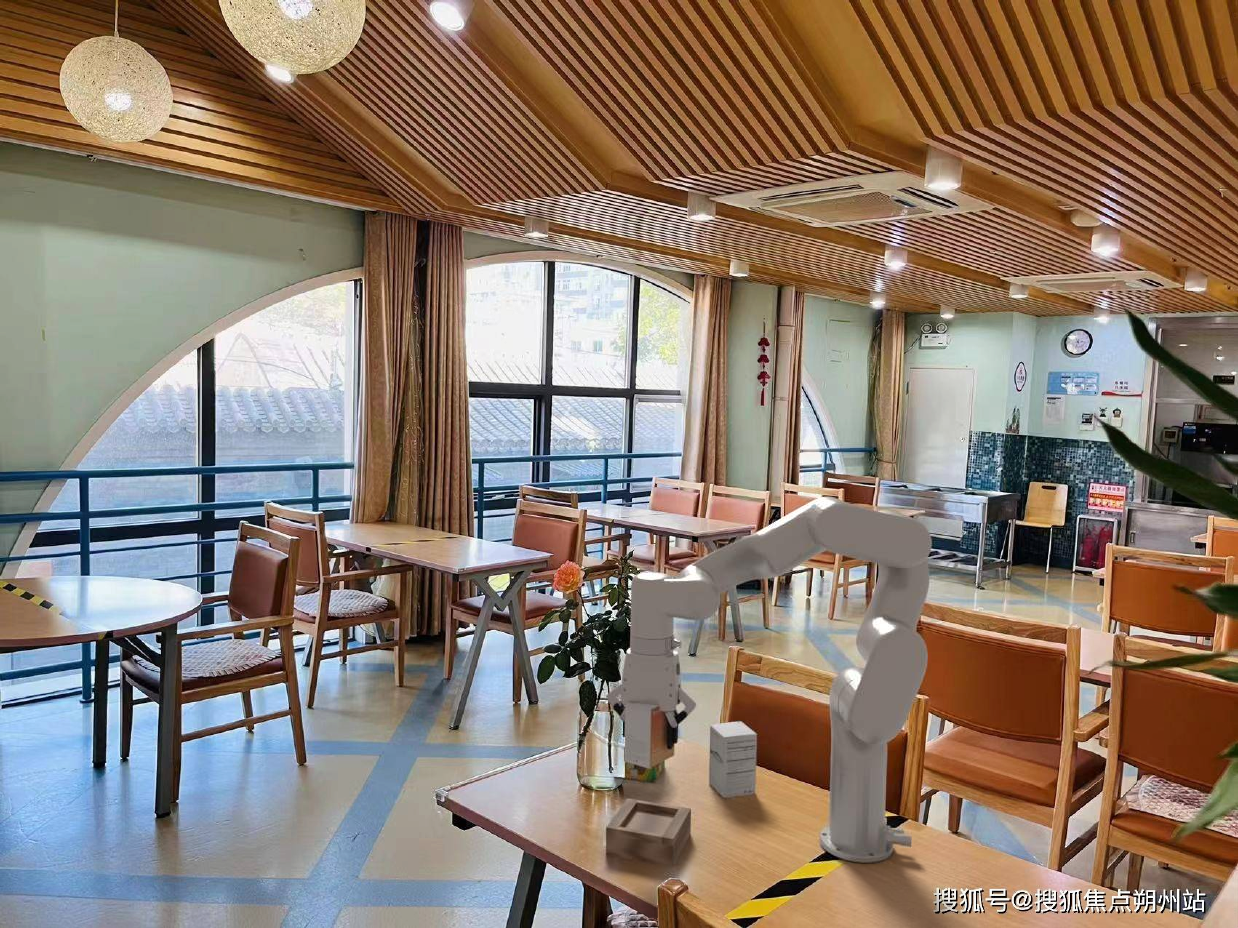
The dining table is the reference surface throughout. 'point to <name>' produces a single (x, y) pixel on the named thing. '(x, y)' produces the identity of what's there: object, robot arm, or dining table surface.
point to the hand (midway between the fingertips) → (649, 743)
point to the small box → (645, 735)
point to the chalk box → (643, 772)
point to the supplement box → (732, 759)
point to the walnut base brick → (648, 832)
